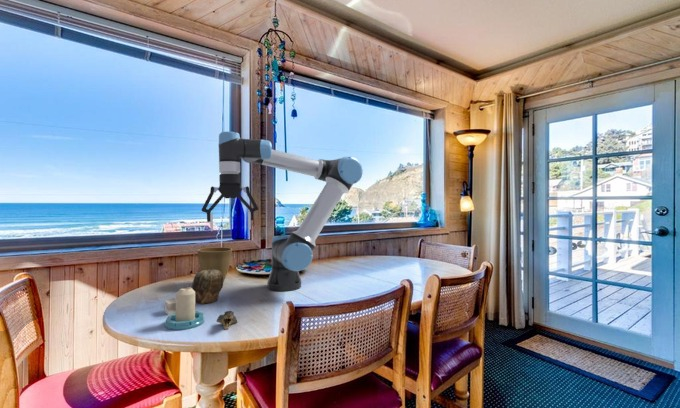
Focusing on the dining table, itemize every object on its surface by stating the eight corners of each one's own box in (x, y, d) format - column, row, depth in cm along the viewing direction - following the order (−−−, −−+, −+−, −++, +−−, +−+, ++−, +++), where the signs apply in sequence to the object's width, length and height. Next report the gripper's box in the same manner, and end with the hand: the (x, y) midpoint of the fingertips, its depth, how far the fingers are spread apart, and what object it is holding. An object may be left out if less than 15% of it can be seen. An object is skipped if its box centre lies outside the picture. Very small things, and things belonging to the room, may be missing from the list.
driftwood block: (180, 308, 116) (180, 297, 116) (184, 312, 113) (184, 301, 113) (164, 311, 113) (164, 300, 113) (168, 315, 109) (168, 303, 109)
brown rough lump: (212, 306, 119) (213, 273, 119) (185, 304, 121) (186, 271, 121) (228, 297, 130) (229, 267, 129) (203, 295, 132) (204, 265, 132)
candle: (189, 315, 107) (190, 284, 107) (198, 319, 103) (198, 288, 103) (172, 320, 103) (172, 288, 102) (180, 324, 99) (181, 291, 99)
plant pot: (231, 287, 144) (231, 251, 144) (194, 289, 140) (194, 252, 140) (232, 279, 159) (233, 246, 158) (199, 280, 155) (200, 247, 154)
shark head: (237, 333, 98) (242, 312, 98) (215, 332, 96) (219, 310, 96) (236, 321, 106) (240, 301, 105) (216, 320, 103) (220, 300, 103)
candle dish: (205, 315, 110) (205, 309, 110) (202, 327, 99) (202, 321, 99) (169, 318, 106) (169, 312, 106) (161, 331, 96) (161, 324, 96)
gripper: (262, 174, 131) (263, 227, 132) (194, 173, 123) (195, 230, 123) (264, 173, 124) (265, 229, 125) (192, 172, 116) (194, 232, 116)
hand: (231, 229), depth 124 cm, fingers open, 13 cm apart
